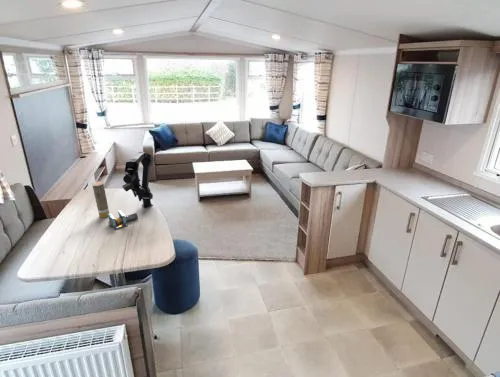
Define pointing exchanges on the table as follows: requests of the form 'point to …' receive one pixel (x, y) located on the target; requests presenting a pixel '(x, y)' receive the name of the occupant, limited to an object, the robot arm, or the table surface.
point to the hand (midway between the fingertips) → (137, 198)
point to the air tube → (128, 218)
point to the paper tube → (101, 199)
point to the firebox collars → (119, 217)
